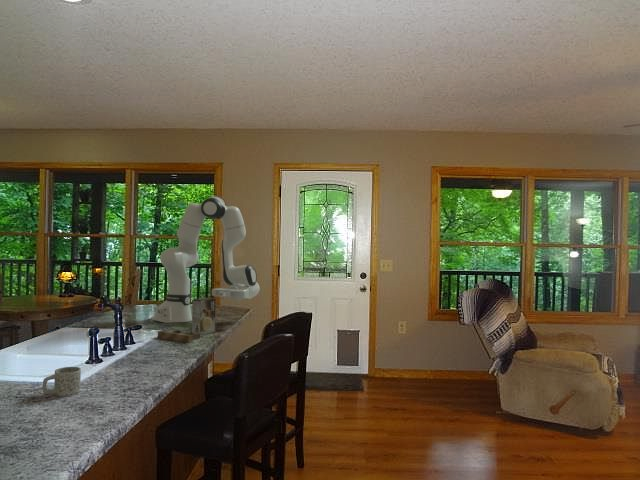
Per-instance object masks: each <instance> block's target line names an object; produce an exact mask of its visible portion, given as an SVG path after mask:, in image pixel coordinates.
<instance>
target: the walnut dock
mask: <svg viewBox="0 0 640 480" xmlns="http://www.w3.org/2000/svg"><path fill="white" fill-rule="evenodd" d="M200 338H201V335H200V334H199V333H197V334H194V333H192V334H186V333H181V330H174V331H168V330H158V331H157V339H162V340H168V341H174V342H181V343H187V344H190V343H193V341H194V340H199V339H200Z"/></svg>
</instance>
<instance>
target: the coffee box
mask: <svg viewBox="0 0 640 480" xmlns="http://www.w3.org/2000/svg"><path fill="white" fill-rule="evenodd" d="M191 301H192V302H191V316H192V320H191V334H197V333H199V334H200V336H201V335H207V334H212V333H216V302H217V301H216V298H212V297H202V298H191Z"/></svg>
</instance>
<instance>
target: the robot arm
mask: <svg viewBox="0 0 640 480" xmlns="http://www.w3.org/2000/svg"><path fill="white" fill-rule="evenodd" d="M226 204H227V203H226V201H225V200H224V199H223V198H222V197H221V196H216V195H215V196H214V195H213V196H210V197H208V198H207V197H206V198H205V199H204V200H203V201H202V203H197V202H192V203H190V204H188V205H187V207H186V208H185V210H184V213H183V215H182V217H181V221H180V222H179V225H178V229H177V232H176V235H177V238H178V246H177V247H169V248H167V249H165V250H163V251H162V252H161V254H160V263H161V265H162V266H163V267H164V269H165V270H166V271H165V272H166V275H167V278H168V293H167V294H164V298H165V300H164V301H163V302H162V303H161V304H159V305H158V306H157V307H156V308H155V313H154V316H153V315H152V316H150V320H152V321H156V322H161V323H166V324H168V323H171V324H173V323H186V322H192V308H191V301H192V295H191V279H190V277H189V276H188V275H187V274H188V273H187V270H186V268H190V267H192V266H195V265H196V264H197V263H198V261H199V259H200V256H199V255H200V254H199V252H198V240H199V236H200V233H201V230H202V226H203V225H204V221H205V219H206V218H208V219H214V220H215V219H217V220H220V221H221V222H222V225H223V230H224V237H223V239H222V241H221V254H222V255H221V256H222V268H223V269H222V279H223V282H225V284H226V285H228V286H230V287H229V288H227V287H219V288H217V287H216V288H212V289H211V295H212V297H222V298H223V297H224V298H231V299H232V300H233V301H234V302H235V301H242V300H251V299H252V298H254V297H256V296H257V295H258V294H259V292H260V289H261V287H260V285H259V283H258V282H257V278H258V277H257V276H258V275H257V271H256V268H254V267H253V265H251V264H244V265H243V264H242V265H238V266H235V265H234V258H233V257H234V256H233V251H234V248H236V246H238V245H239V244H241V243H242V242H243V241H244V239H245V237H246V236H247V229H246V226H245V221H244V218H243V215H242V213H241V210H240V208H238V207H237V206H235V205H233V206H232V205H229V206H227V205H226Z"/></svg>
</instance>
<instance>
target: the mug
mask: <svg viewBox="0 0 640 480" xmlns="http://www.w3.org/2000/svg"><path fill="white" fill-rule="evenodd" d="M81 372H82V369H81V367H79V366H65V367H60V368H57V369H55V370H54V374H51V375H49V376H46V377H44V378H43V379H42V393H43V395H54V396H56V397H59V398H61V397H63V398H64V397H72V396H75V395H78V394H79V393H81V374H82V373H81ZM50 380H54V383H53V384H54V385H53V386H54V388H52V389H49V390H48V389H47V385H48V382H49V381H50Z"/></svg>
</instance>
